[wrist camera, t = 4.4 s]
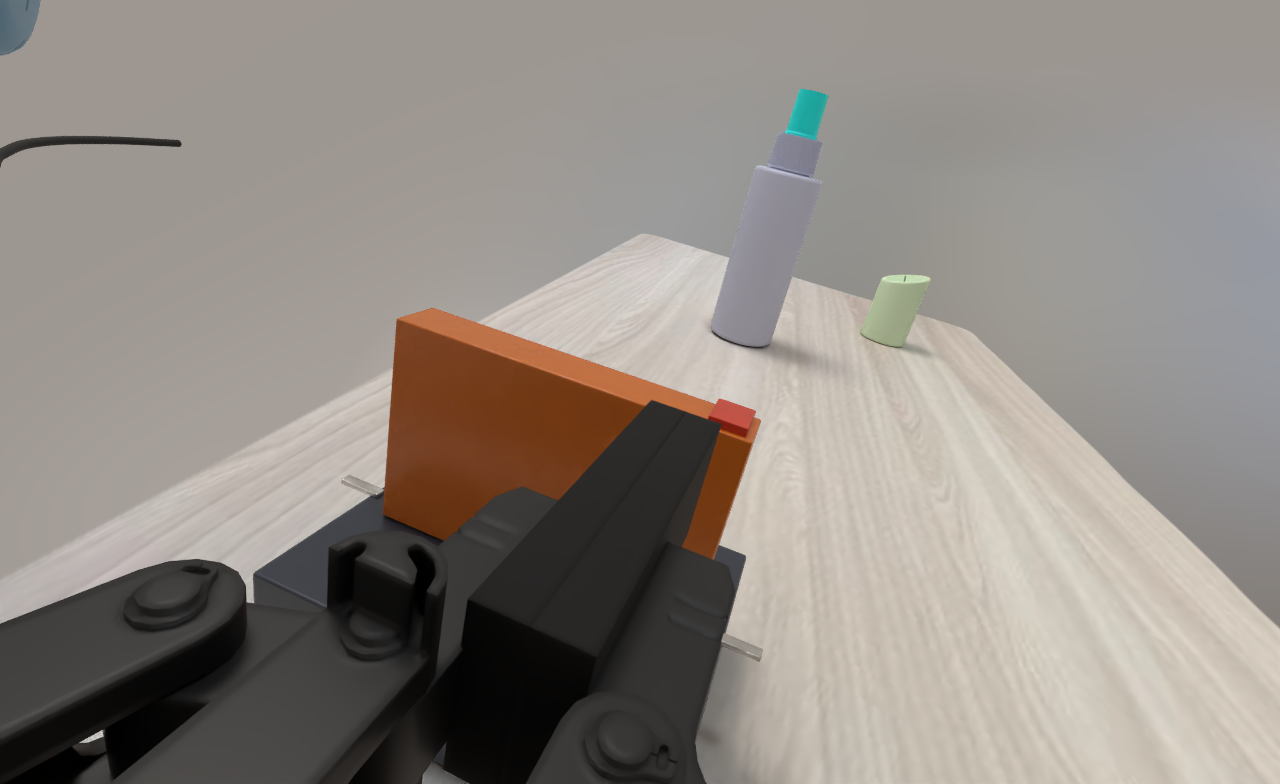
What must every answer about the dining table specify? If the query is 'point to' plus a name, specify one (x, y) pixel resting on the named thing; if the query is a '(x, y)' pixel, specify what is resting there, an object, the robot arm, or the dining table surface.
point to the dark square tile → (305, 565)
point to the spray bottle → (772, 230)
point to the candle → (894, 308)
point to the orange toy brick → (524, 425)
